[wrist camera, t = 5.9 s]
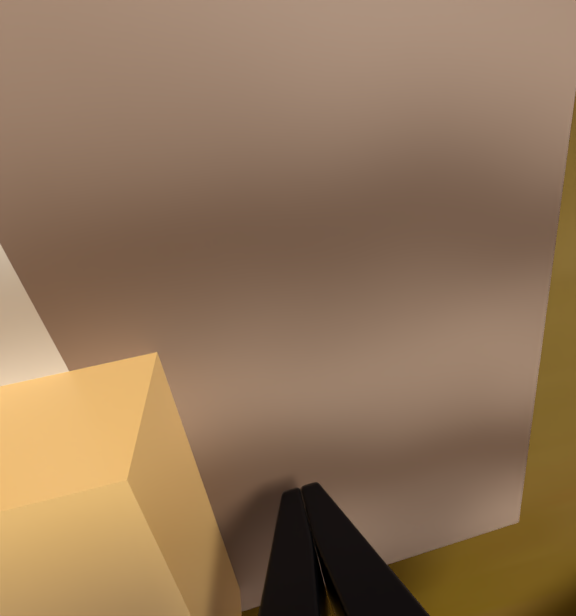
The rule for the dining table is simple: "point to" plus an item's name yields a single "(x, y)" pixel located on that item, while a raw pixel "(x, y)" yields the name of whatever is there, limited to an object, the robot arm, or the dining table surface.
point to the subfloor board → (297, 240)
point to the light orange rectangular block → (105, 500)
